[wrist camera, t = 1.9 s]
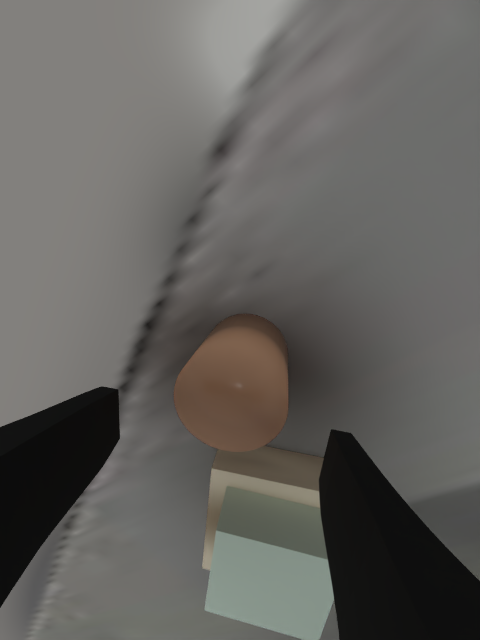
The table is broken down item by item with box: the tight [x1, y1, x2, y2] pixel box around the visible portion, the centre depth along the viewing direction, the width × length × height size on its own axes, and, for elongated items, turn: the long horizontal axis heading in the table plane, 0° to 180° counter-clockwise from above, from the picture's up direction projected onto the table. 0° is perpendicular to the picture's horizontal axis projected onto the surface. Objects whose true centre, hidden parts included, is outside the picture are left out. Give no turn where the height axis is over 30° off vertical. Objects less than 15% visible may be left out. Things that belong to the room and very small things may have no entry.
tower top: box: [205, 486, 334, 640], centre depth 15 cm, size 6×6×2 cm
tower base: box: [202, 446, 324, 570], centre depth 18 cm, size 8×8×3 cm
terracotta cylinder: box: [174, 314, 288, 452], centre depth 14 cm, size 5×5×5 cm
